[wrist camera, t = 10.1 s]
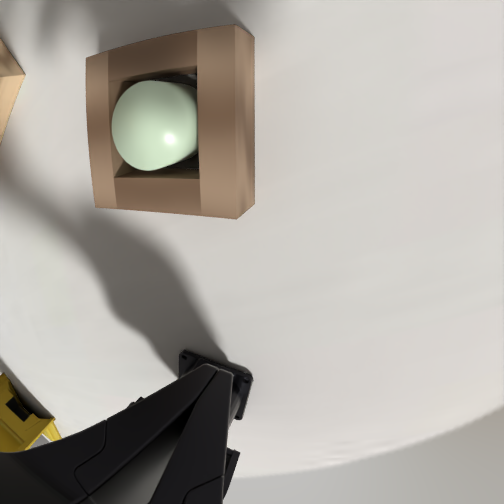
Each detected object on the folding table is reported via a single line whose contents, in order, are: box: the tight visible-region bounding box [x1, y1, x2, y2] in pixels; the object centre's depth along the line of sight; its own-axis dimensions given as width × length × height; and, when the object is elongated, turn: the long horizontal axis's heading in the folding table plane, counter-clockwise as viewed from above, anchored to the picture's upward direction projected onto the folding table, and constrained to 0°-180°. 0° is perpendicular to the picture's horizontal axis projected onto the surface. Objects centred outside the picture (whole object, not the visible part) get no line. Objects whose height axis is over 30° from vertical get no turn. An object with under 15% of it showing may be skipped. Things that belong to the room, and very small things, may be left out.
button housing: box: [86, 24, 255, 219], centre depth 17 cm, size 10×10×3 cm
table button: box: [112, 81, 199, 171], centre depth 17 cm, size 5×5×3 cm
